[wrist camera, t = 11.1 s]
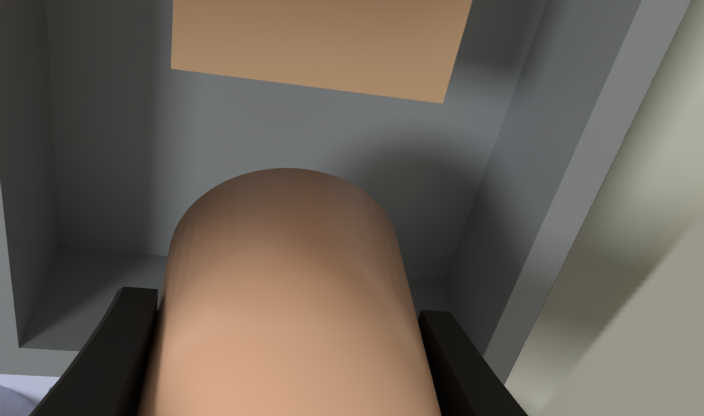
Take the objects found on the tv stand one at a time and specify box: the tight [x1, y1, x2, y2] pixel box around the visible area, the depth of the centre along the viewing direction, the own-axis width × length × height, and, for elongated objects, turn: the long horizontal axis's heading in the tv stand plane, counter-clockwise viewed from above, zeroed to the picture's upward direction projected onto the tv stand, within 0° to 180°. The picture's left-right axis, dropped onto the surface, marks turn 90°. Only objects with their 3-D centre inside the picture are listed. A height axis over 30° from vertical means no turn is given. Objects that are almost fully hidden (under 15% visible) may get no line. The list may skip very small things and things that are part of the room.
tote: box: [0, 0, 691, 385], centre depth 15 cm, size 18×14×5 cm
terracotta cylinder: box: [137, 168, 442, 416], centre depth 12 cm, size 5×5×7 cm
